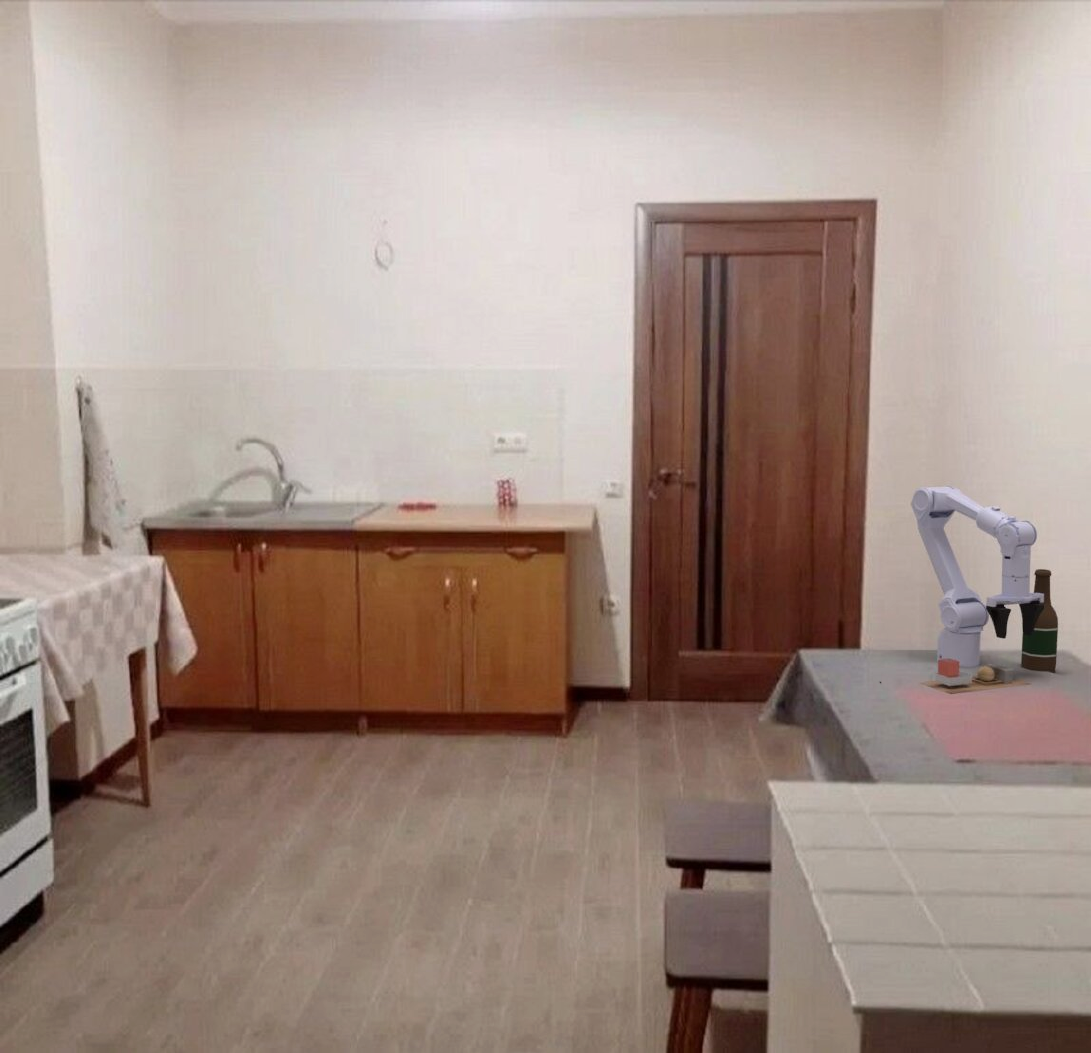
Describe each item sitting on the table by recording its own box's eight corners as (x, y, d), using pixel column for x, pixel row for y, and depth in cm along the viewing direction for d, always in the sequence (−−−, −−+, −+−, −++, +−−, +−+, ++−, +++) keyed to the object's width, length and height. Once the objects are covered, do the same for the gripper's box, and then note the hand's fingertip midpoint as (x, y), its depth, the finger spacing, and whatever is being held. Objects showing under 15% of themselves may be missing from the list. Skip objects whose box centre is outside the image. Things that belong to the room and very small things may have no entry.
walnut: (974, 681, 244) (974, 665, 243) (986, 679, 245) (986, 663, 244) (985, 685, 240) (985, 669, 240) (998, 682, 242) (998, 667, 241)
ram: (935, 681, 240) (936, 658, 240) (957, 678, 242) (958, 656, 242) (949, 686, 236) (950, 663, 236) (971, 683, 238) (972, 660, 238)
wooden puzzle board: (918, 688, 242) (919, 669, 242) (997, 678, 250) (998, 660, 250) (950, 699, 233) (951, 680, 233) (1031, 689, 241) (1032, 670, 240)
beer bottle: (1049, 668, 259) (1054, 567, 257) (1061, 676, 252) (1067, 572, 249) (1015, 668, 260) (1019, 567, 257) (1026, 676, 252) (1031, 572, 250)
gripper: (1003, 580, 239) (1002, 642, 240) (1055, 575, 244) (1053, 636, 245) (979, 576, 245) (978, 636, 246) (1030, 572, 250) (1029, 631, 251)
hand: (1014, 636), depth 246 cm, fingers open, 7 cm apart
